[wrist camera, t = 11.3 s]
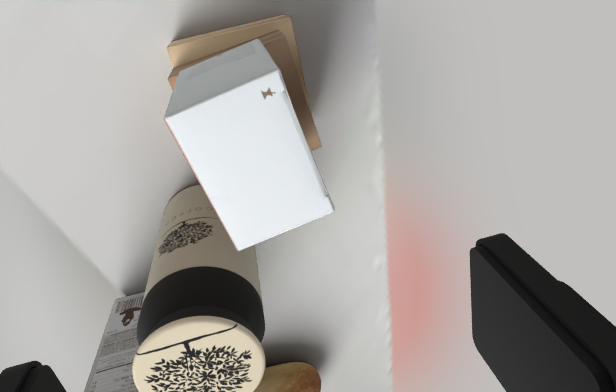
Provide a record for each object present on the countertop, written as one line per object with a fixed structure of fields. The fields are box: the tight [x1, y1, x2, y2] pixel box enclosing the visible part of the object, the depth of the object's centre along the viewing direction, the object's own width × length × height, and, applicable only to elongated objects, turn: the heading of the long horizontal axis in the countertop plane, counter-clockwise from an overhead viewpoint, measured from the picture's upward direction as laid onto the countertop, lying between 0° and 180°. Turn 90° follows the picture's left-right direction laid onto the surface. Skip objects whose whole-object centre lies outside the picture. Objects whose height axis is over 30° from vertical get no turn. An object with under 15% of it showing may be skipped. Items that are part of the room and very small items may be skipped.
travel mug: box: [132, 185, 265, 392], centre depth 34 cm, size 8×8×18 cm
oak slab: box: [167, 14, 311, 112], centre depth 36 cm, size 9×9×4 cm
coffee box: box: [84, 292, 145, 392], centre depth 39 cm, size 9×6×16 cm
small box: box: [164, 39, 335, 251], centre depth 26 cm, size 8×6×10 cm
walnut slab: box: [168, 30, 322, 151], centre depth 32 cm, size 8×8×4 cm
